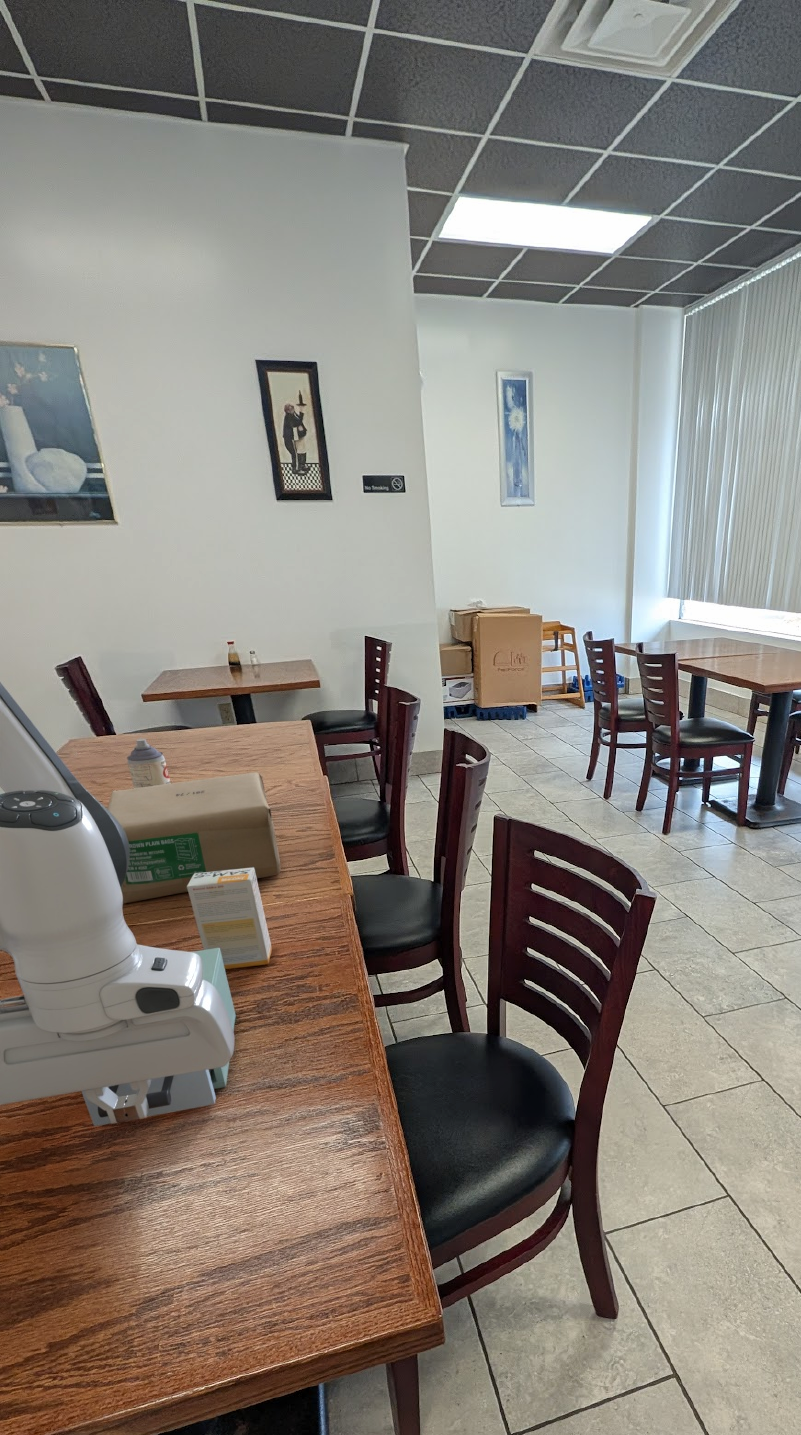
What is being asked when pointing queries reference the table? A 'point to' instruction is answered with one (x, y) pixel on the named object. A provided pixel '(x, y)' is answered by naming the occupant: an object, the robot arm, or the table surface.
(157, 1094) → the drawer
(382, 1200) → the table surface
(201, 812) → the paper package
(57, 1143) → the table surface
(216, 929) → the supplement box
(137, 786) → the aerosol can
